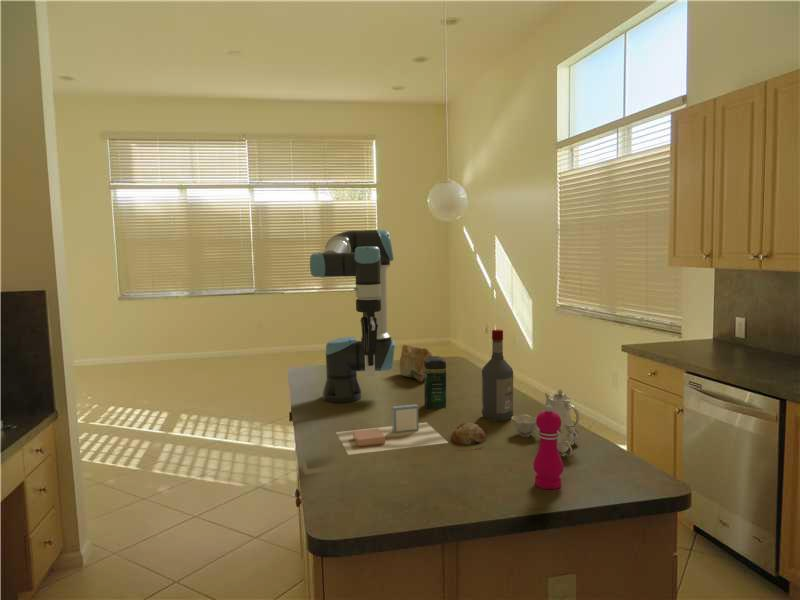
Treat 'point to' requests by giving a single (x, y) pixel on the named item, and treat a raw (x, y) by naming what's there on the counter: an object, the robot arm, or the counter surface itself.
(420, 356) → the rough brown rock
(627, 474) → the counter surface
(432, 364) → the coffee jar
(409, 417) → the tile blue
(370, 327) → the robot arm
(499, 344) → the liquor
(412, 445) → the board
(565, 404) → the chinaware
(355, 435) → the pink square tile
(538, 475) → the pepper mill
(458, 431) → the bread roll
